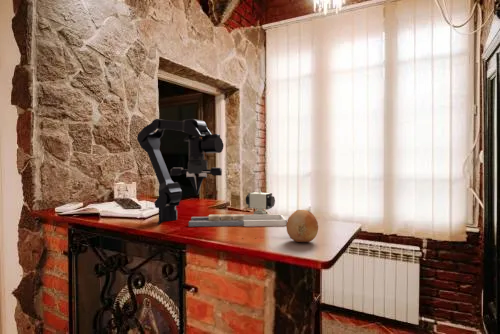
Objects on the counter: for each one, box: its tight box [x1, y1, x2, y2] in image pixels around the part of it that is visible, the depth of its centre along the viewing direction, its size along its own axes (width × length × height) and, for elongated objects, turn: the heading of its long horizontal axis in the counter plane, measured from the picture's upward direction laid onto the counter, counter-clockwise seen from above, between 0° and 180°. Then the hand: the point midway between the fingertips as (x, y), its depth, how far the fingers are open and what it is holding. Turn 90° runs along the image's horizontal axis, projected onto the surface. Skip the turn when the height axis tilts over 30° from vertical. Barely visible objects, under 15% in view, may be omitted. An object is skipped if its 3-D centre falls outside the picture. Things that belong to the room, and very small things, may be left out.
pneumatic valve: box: [245, 190, 276, 215], centre depth 131 cm, size 6×12×12 cm, turn 63°
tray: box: [243, 213, 288, 227], centre depth 119 cm, size 16×12×3 cm
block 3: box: [232, 213, 244, 220], centre depth 118 cm, size 4×4×3 cm
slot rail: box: [188, 215, 245, 228], centre depth 117 cm, size 20×10×3 cm, turn 94°
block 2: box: [220, 213, 232, 220], centre depth 118 cm, size 4×4×3 cm
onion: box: [285, 209, 319, 243], centre depth 95 cm, size 10×10×10 cm
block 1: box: [208, 213, 221, 220], centre depth 117 cm, size 4×4×3 cm
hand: (196, 194), depth 116 cm, fingers closed
